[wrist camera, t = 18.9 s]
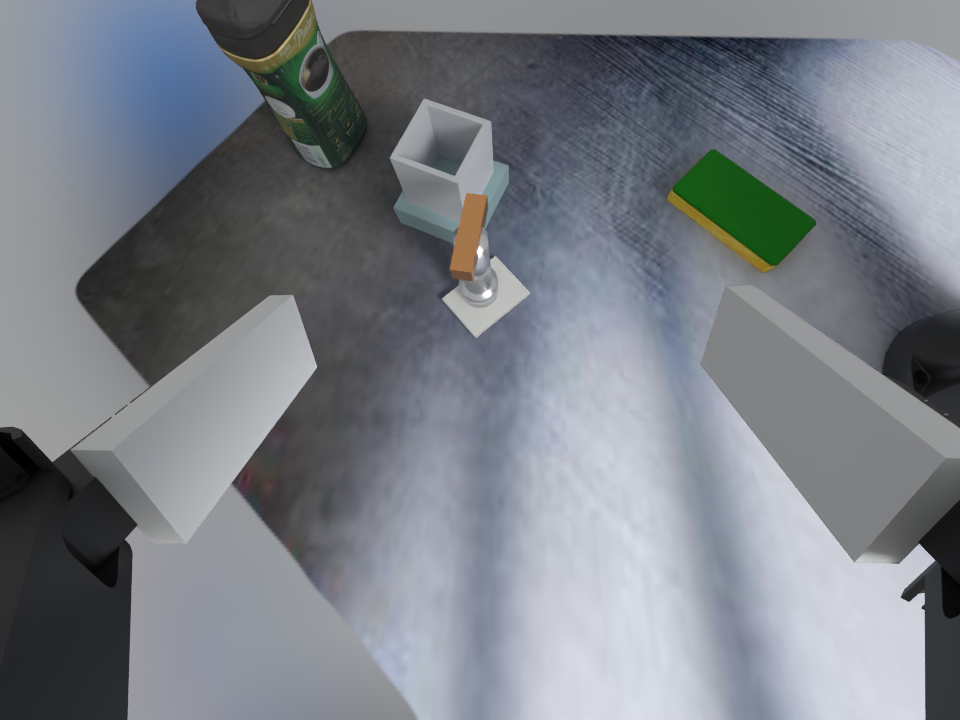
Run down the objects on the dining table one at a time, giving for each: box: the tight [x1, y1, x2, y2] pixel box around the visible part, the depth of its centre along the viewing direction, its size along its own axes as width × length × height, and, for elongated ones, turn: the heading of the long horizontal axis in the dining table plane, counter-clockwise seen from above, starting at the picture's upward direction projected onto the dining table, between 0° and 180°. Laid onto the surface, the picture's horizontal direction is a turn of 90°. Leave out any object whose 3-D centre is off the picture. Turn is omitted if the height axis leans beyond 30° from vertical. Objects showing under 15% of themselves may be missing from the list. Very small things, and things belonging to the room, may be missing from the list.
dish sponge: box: [667, 150, 816, 272], centre depth 43 cm, size 7×14×2 cm, turn 44°
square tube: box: [390, 99, 509, 243], centre depth 42 cm, size 10×10×10 cm
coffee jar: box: [196, 0, 367, 169], centre depth 41 cm, size 10×8×19 cm
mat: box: [442, 256, 530, 338], centre depth 44 cm, size 8×6×1 cm
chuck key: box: [450, 193, 498, 308], centre depth 37 cm, size 7×4×12 cm, turn 169°
